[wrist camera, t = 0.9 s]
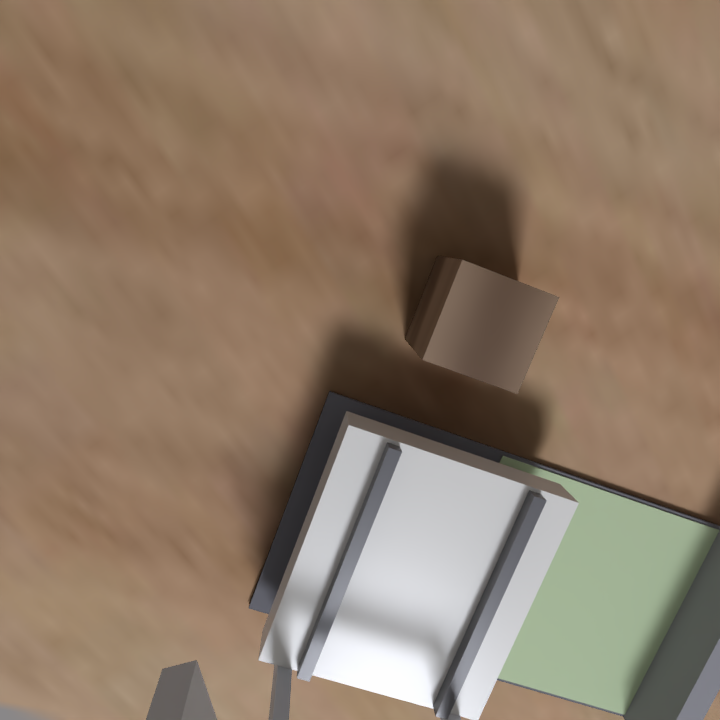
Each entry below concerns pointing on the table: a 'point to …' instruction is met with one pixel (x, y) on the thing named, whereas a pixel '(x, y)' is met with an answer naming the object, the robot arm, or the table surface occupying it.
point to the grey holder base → (579, 588)
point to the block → (479, 323)
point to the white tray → (412, 571)
